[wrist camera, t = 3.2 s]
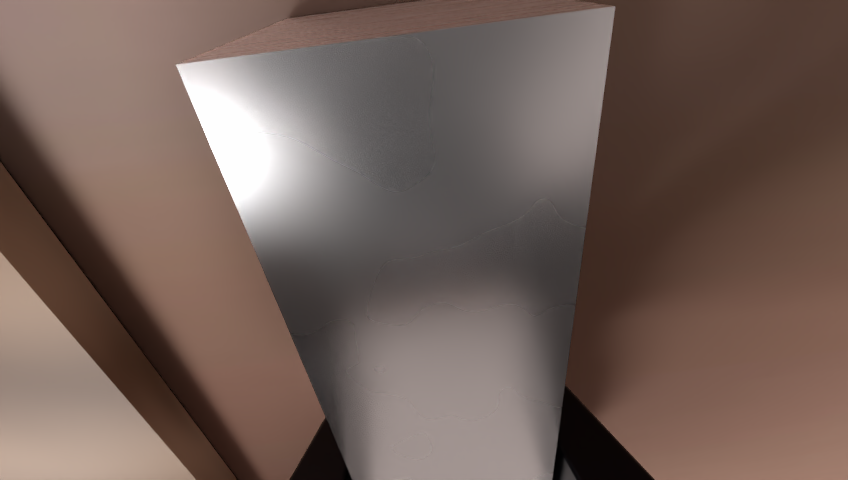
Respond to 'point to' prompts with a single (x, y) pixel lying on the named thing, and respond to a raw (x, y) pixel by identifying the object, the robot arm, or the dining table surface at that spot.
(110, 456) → the lock cradle
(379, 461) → the two-tone gray brick
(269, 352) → the dining table surface
